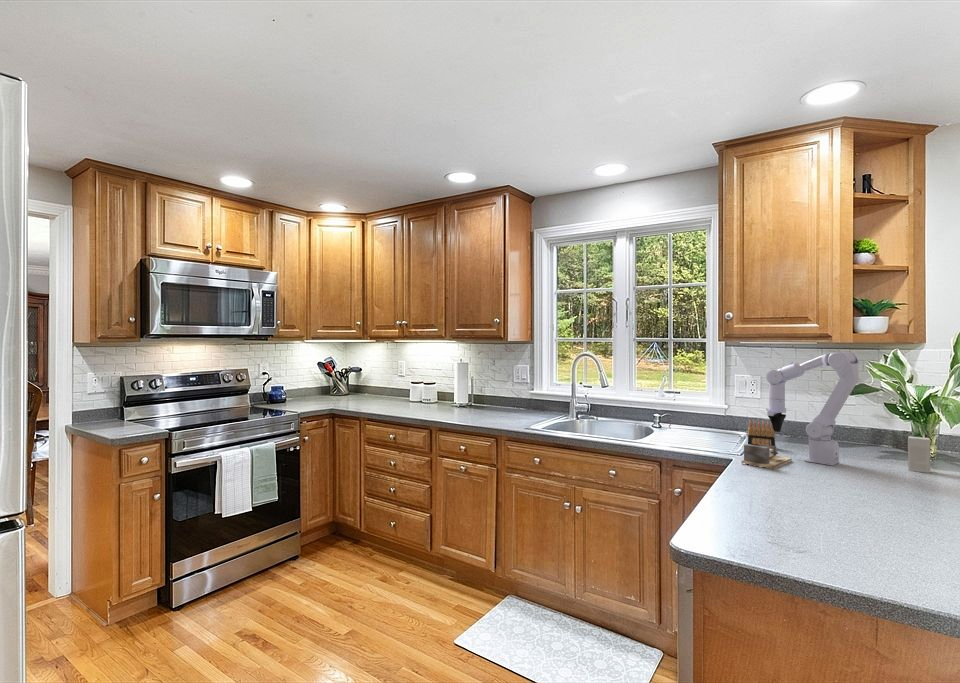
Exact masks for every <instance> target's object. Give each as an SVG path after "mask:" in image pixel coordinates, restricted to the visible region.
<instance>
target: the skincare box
mask: <svg viewBox="0 0 960 683" xmlns="http://www.w3.org/2000/svg"><path fill="white" fill-rule="evenodd" d="M907 455H908V456H907V463H908V464H907V466H908V468H907V469H908V472H909V471H911V472H918V473H926V474H930V473H931V438H930V437H920V436H910V435H908V437H907Z"/></svg>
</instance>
